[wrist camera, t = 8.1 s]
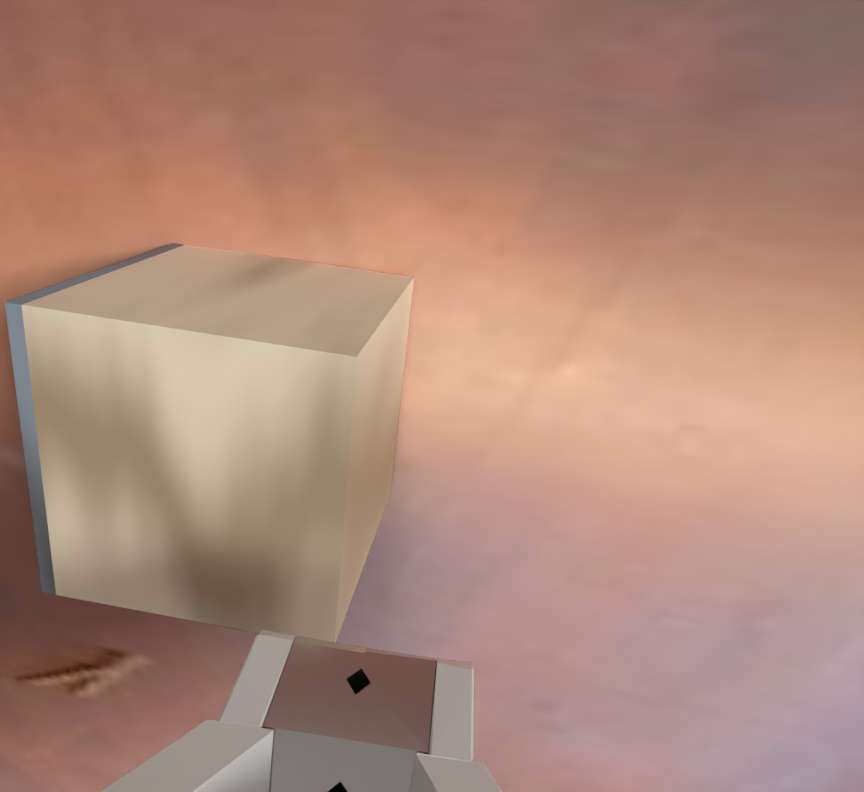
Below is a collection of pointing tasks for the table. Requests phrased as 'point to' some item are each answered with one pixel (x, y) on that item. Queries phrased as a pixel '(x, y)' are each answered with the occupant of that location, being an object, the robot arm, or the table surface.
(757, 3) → the table surface
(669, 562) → the table surface
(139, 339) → the maple cube
